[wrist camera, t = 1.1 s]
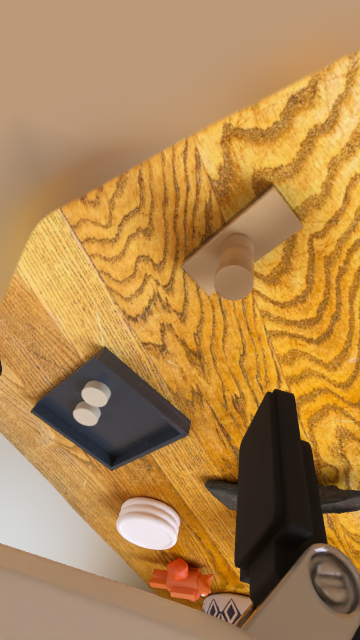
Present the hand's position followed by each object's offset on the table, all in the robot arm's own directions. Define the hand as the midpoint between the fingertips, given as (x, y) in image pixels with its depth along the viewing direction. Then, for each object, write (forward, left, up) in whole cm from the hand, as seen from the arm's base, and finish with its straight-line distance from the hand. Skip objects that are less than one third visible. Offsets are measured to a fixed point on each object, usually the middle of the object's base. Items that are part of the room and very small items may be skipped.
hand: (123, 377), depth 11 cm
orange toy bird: (+46, -47, -19) cm, 68 cm away
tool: (+34, -16, -19) cm, 42 cm away
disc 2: (+8, -27, -18) cm, 33 cm away
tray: (+10, -25, -18) cm, 32 cm away
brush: (+3, +1, -18) cm, 19 cm away
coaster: (+30, -39, -19) cm, 52 cm away
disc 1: (+7, -23, -18) cm, 30 cm away
